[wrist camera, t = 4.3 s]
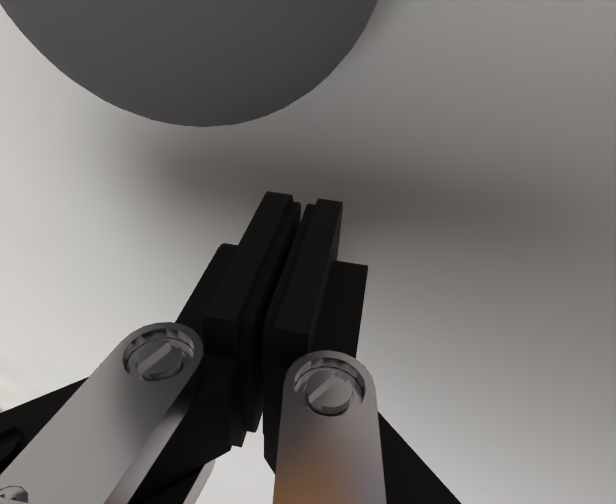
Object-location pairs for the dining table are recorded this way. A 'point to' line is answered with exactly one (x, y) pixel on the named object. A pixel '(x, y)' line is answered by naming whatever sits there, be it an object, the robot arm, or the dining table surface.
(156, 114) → the gray ball
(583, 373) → the dining table surface
